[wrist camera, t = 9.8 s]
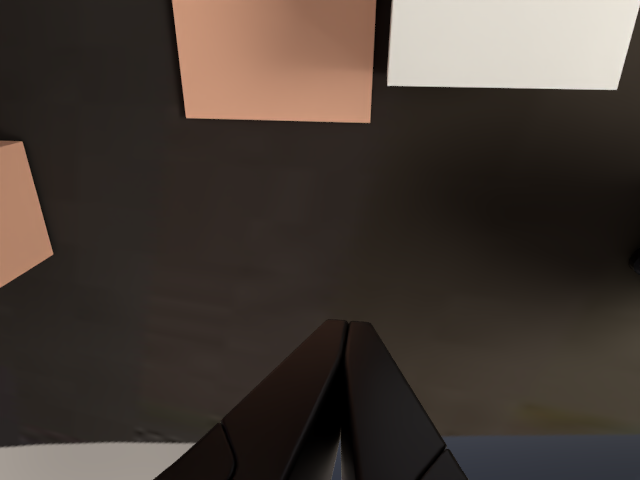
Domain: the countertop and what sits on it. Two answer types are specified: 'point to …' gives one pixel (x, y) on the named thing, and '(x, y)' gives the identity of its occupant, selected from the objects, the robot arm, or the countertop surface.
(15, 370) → the countertop surface
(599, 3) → the white block
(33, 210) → the terracotta block
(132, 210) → the countertop surface
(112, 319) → the countertop surface
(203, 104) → the colour card
